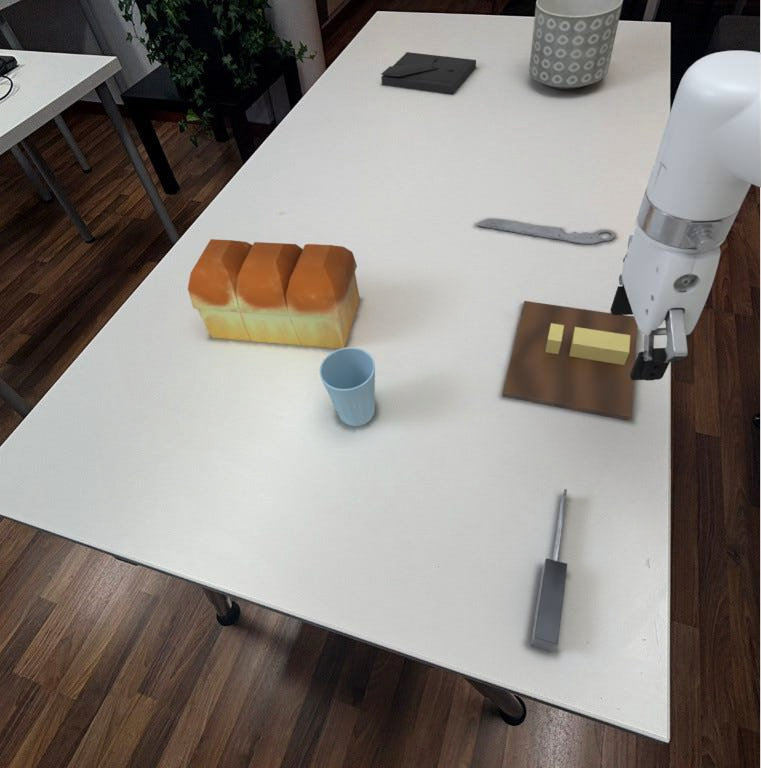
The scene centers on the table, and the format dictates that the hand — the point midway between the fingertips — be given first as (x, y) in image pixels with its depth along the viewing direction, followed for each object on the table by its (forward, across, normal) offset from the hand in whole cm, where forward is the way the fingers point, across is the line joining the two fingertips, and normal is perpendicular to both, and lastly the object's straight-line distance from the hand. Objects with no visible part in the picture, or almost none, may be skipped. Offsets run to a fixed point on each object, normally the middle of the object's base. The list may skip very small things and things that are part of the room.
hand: (634, 343), depth 62 cm
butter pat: (+19, +16, +4) cm, 25 cm away
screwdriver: (+20, -18, +9) cm, 28 cm away
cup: (+20, +5, +34) cm, 40 cm away
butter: (+19, +15, -3) cm, 24 cm away
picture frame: (+20, +116, +22) cm, 120 cm away
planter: (+20, +106, -13) cm, 109 cm away
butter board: (+20, +15, +1) cm, 25 cm away
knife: (+20, +47, +1) cm, 51 cm away
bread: (+20, +26, +48) cm, 58 cm away
